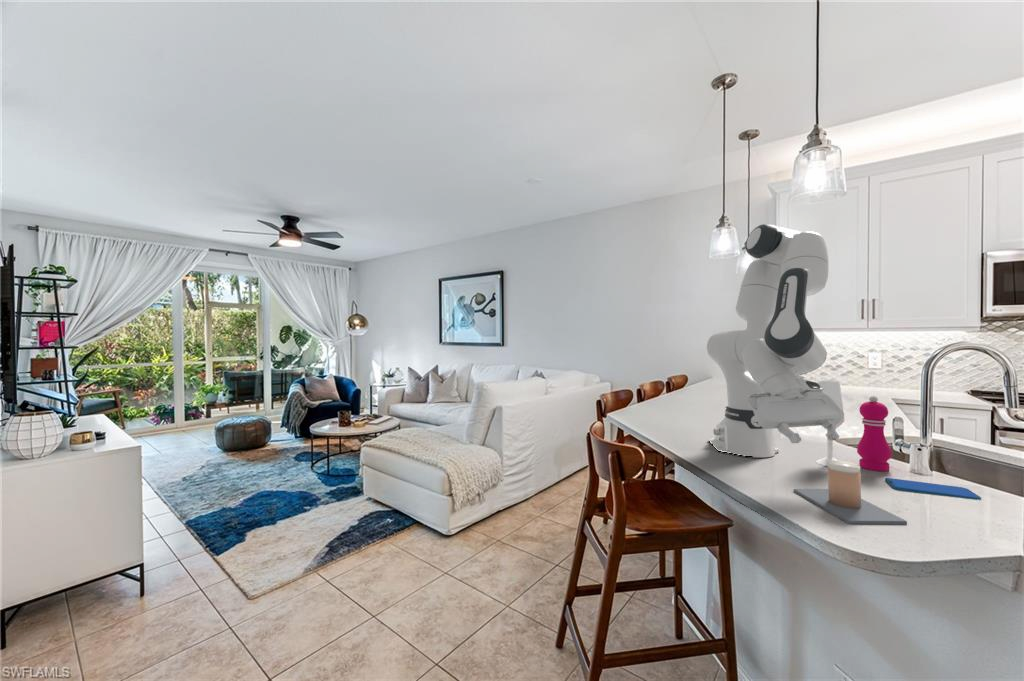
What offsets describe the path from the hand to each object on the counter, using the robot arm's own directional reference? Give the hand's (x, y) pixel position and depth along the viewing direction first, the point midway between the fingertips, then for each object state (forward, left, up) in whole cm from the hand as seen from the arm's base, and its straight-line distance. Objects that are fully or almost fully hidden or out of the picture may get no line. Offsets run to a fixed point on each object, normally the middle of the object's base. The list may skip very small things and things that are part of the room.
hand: (816, 440), depth 95 cm
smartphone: (-4, +29, -13) cm, 32 cm away
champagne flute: (-24, +20, -13) cm, 34 cm away
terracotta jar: (+6, +2, -12) cm, 14 cm away
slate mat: (+6, +2, -13) cm, 14 cm away
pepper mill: (-20, +29, -13) cm, 37 cm away
